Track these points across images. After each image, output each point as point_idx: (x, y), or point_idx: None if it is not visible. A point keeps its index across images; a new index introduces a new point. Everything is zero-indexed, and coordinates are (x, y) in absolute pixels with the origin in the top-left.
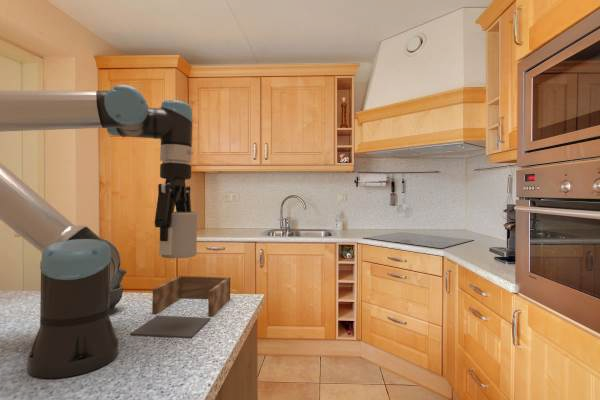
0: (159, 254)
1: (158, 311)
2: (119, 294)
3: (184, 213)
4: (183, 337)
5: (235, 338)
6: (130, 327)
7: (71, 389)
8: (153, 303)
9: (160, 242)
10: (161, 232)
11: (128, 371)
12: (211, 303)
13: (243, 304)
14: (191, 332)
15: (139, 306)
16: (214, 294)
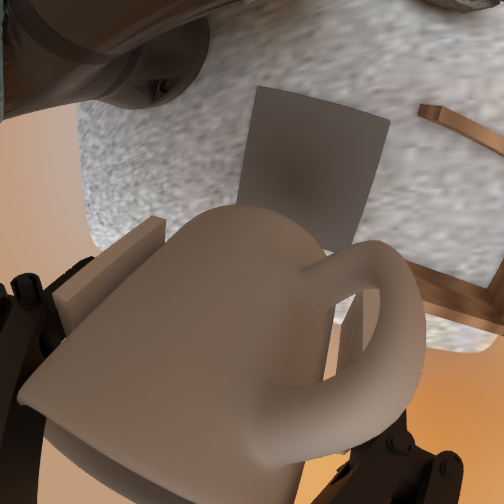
0: (151, 216)
1: (430, 120)
2: (448, 4)
3: (74, 461)
4: (236, 204)
5: None
6: (313, 69)
7: None
8: (427, 108)
9: (113, 248)
10: (56, 287)
11: (118, 147)
12: None
13: (435, 324)
14: None
15: (487, 65)
16: None
